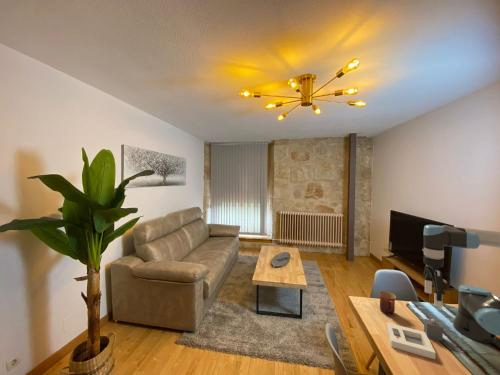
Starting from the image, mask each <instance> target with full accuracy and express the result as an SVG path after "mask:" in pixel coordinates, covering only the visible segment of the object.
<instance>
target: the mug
mask: <svg viewBox="0 0 500 375" xmlns="http://www.w3.org/2000/svg"><path fill="white" fill-rule="evenodd" d="M378 295H379V296H378V297H379V310H380V311H381V312H382V313H383V314H385V315H389V316H391V315H392V316H393V315H394V314H395V312H396V305H395V303H396V299H397V296H396V295H395V293H392V292H390V291H387V290H379V291H378Z"/></svg>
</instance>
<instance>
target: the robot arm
mask: <svg viewBox="0 0 500 375" xmlns="http://www.w3.org/2000/svg"><path fill="white" fill-rule="evenodd" d="M480 246H485V247H486V246H487V247H492V248H500V231H494V230H484V229H477V228H466V227H459V226H458V227H457V226H451V225H447V224H444V225H437V224H436V225H435V224H426V225H424V227H423V248H422V249H421V250H422V252H423V260H422V261H423V264H425V266H424V271H423V275H422V276H423V278H424V293H425V294H429V295H431V294H434V302H433V303H434V304H433V306H434V307H436V308H441V309H443V298H444V297H443V296H445V295H446V292H445V286H444V280H443V272H442V271H440V269H439V268H443V267H444V265H445V264H444V263H445V262H444V259H445V248H444V247H450V248H451V247H452V248H459V249H460V248H461V249H469V250H470V249H472V250H473V249H474V250H476V249H479V247H480ZM433 287H434V291H433V290H432V289H433ZM457 291H458V301H457V302H458V303H457V304H458V305H457V306H458V307H457V313H456V315H455V317H454V318H453V320H452V326H453V328H454V329H455V330H456V331H457V332H459V333H460V334H461V335H463V336H465V337H467V338H469V339H471V340H475V342H476V341H477V342H481V343H484V344H495V343H497V336H499V337H500V294H493V292H491V291H490V290H489V289H485V288H483V287H479V286H474V285H470V284H469V285H467V284H462V285H461V284H460V285H459V286H458V290H457Z"/></svg>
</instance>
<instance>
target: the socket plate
mask: <svg viewBox="0 0 500 375" xmlns="http://www.w3.org/2000/svg"><path fill="white" fill-rule="evenodd" d="M385 325H386V332H387V337H388V339H389V340H388V341H389V344H390V348H394V349H396V350H401V351H404V352H408V353H411V354H415V355H419V356H420V357H425V358H428V359H432V360H436V357H437V356H436V354H437V353H436V350H435V349H434V347H433V345H432V343H431V340H430V338H428V337H427V335H426V333H425V332H424V330H423V331H422V330H418V329H414V328H411V327H406V326H403V325H398V324H394V323H390V322H387V321H386V323H385Z"/></svg>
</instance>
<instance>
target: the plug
mask: <svg viewBox="0 0 500 375" xmlns="http://www.w3.org/2000/svg"><path fill="white" fill-rule="evenodd" d="M423 332H425V333H426V335H427V337H428V339H429V340H434V341H439V342H442V341H444V340H443V336H444V335H443V334H444V327H443V325H442V324H441V321H437V320H436V319H434V318H431V319H428V318H424V320H423Z"/></svg>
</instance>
